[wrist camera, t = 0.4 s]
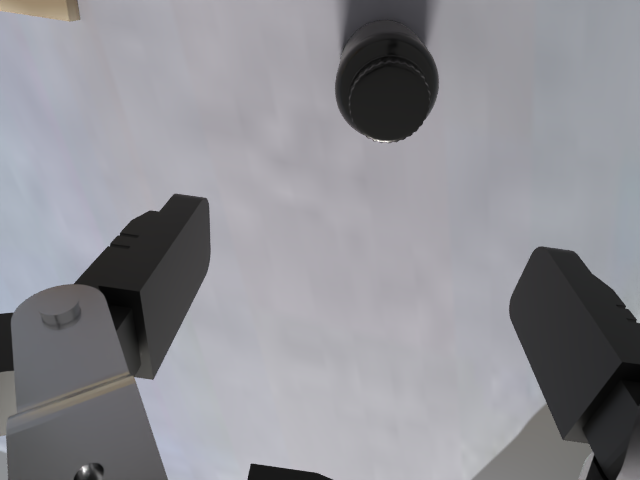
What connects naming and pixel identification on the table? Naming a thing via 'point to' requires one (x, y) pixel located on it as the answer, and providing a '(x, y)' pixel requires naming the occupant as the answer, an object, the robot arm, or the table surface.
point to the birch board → (43, 8)
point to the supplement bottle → (386, 81)
